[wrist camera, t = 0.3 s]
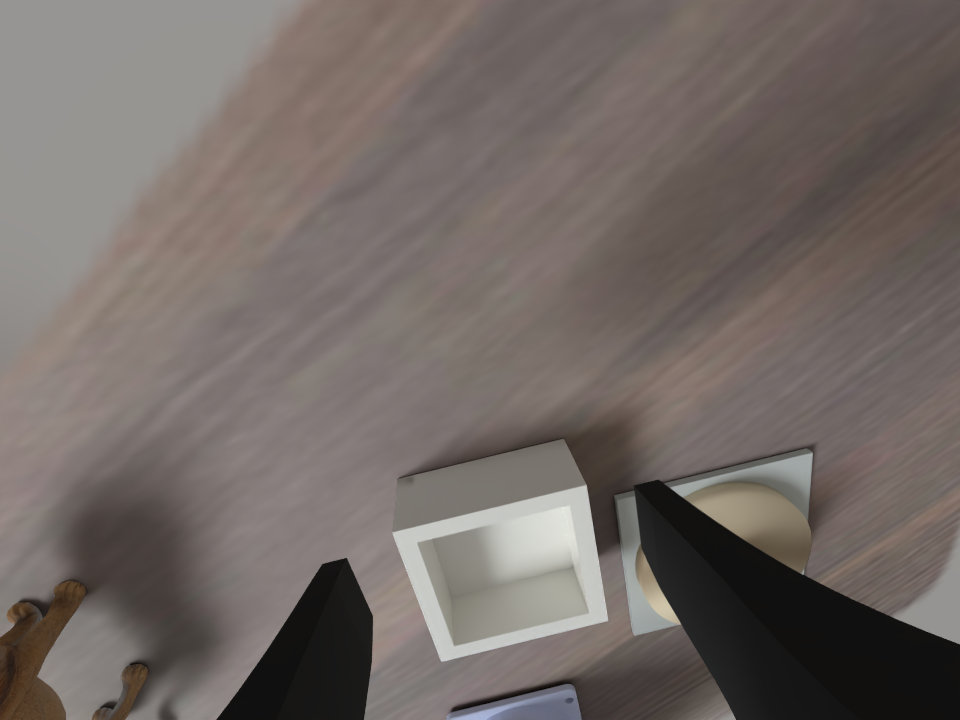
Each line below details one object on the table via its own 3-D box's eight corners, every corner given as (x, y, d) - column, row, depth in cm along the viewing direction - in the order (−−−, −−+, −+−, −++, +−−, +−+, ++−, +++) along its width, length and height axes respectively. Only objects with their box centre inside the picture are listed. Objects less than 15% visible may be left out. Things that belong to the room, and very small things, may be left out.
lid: (794, 589, 27) (868, 676, 23) (642, 627, 27) (685, 721, 23) (802, 462, 24) (891, 534, 19) (627, 505, 24) (675, 587, 19)
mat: (797, 588, 28) (802, 594, 28) (631, 629, 28) (634, 635, 27) (806, 448, 24) (812, 452, 24) (614, 495, 24) (616, 500, 24)
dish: (585, 562, 25) (608, 620, 22) (439, 598, 25) (441, 661, 22) (563, 438, 22) (586, 484, 19) (397, 479, 22) (392, 532, 19)
